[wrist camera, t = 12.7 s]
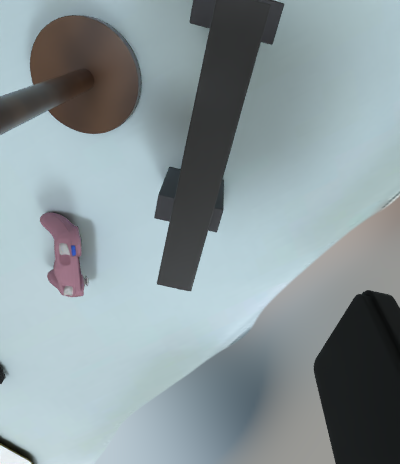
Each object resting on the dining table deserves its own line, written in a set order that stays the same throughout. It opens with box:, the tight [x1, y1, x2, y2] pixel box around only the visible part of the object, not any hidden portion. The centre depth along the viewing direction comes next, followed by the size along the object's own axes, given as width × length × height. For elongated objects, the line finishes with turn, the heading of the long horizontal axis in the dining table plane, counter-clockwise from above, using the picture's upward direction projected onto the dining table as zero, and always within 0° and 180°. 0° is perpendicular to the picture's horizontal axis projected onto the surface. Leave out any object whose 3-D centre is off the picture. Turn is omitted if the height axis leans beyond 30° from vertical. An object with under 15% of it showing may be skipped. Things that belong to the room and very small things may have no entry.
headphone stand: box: [0, 15, 141, 135], centre depth 25 cm, size 10×10×19 cm
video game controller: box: [40, 212, 89, 297], centre depth 41 cm, size 10×5×7 cm, turn 173°
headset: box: [154, 0, 284, 291], centre depth 27 cm, size 6×18×17 cm, turn 167°
